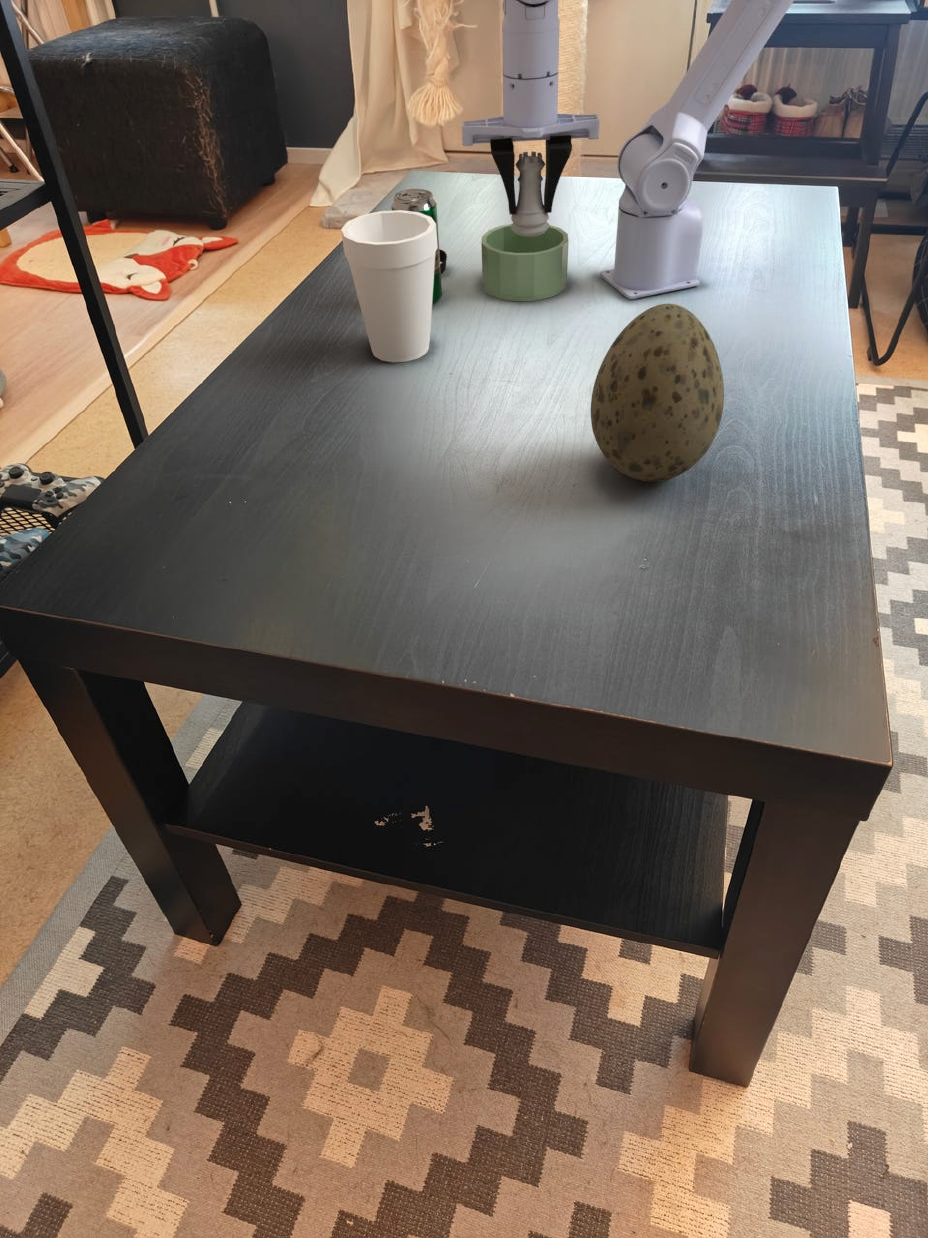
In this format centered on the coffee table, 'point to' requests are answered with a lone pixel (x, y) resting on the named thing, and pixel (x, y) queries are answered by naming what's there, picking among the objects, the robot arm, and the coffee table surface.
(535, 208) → the rook chess piece
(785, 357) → the coffee table surface
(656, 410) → the decorative egg
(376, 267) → the foam cup
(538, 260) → the green cup
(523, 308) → the coffee table surface
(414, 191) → the soda can
